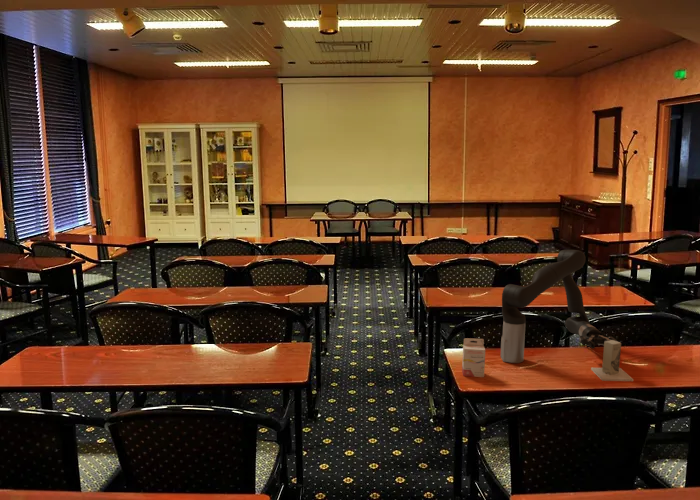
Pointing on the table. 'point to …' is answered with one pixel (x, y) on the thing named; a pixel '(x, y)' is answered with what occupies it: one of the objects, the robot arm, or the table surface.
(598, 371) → the board
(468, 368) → the ink cartridge box
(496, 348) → the table surface
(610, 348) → the box
